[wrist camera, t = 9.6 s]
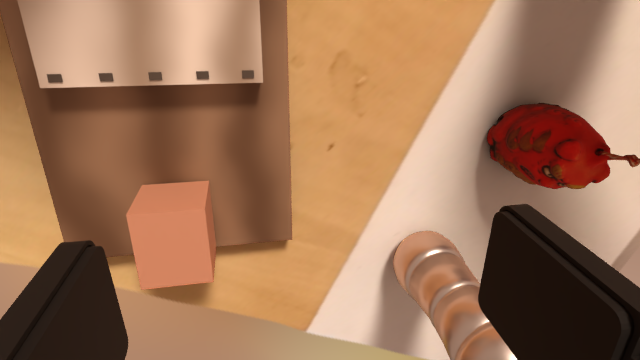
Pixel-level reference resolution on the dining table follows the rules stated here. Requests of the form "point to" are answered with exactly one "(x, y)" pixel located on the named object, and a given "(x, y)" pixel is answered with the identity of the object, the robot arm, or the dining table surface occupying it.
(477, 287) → the plastic bottle
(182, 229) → the salmon upright block
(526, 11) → the dining table surface
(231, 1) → the wooden base board
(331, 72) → the dining table surface
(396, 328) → the dining table surface
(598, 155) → the red clay folk toy
